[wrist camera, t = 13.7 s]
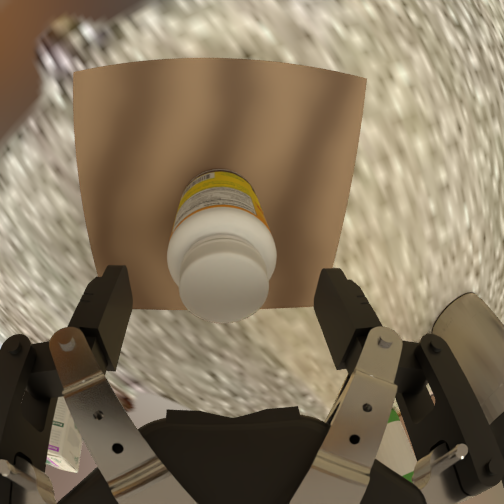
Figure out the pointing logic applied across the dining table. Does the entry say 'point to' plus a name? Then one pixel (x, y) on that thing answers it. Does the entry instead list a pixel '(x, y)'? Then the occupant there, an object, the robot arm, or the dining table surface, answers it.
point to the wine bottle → (396, 449)
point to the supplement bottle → (221, 248)
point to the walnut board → (215, 161)
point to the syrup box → (64, 440)
